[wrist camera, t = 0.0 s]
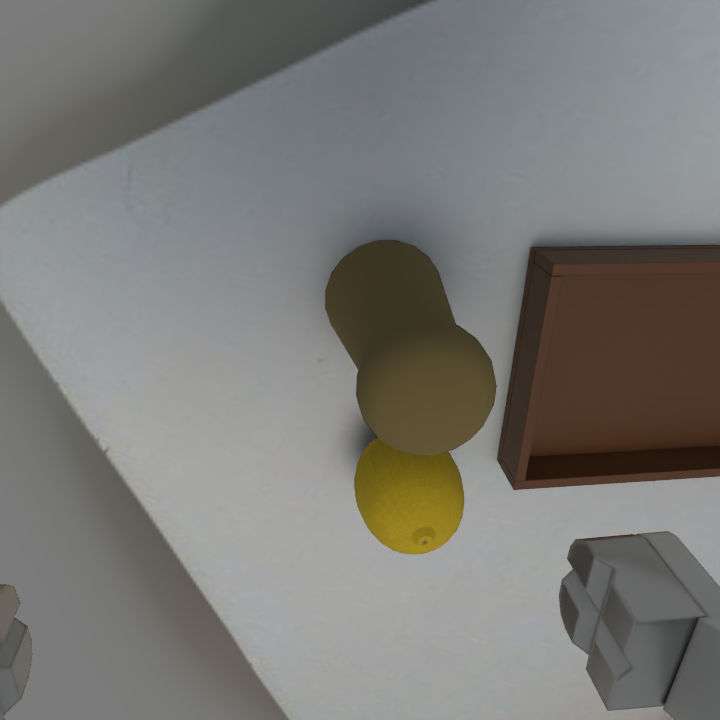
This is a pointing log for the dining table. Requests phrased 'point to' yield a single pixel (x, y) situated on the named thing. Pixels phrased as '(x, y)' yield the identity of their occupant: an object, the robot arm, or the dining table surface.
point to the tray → (615, 367)
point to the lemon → (408, 497)
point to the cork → (408, 350)
